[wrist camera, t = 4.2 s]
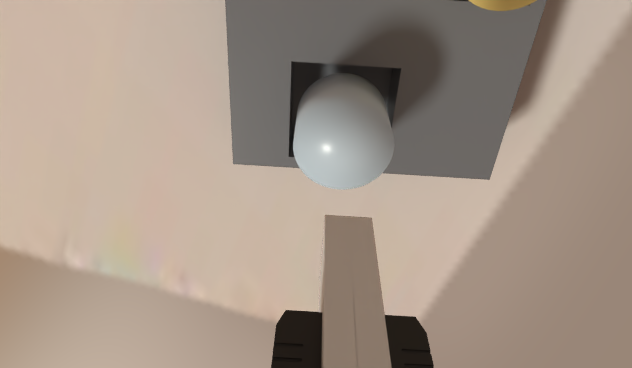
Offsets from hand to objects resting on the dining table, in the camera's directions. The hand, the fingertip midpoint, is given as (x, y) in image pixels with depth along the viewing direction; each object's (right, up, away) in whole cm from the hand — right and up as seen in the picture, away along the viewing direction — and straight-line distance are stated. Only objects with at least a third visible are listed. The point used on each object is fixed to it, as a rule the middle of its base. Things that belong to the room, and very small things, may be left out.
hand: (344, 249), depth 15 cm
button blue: (0, +6, +10) cm, 11 cm away
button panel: (+2, +12, +10) cm, 16 cm away
